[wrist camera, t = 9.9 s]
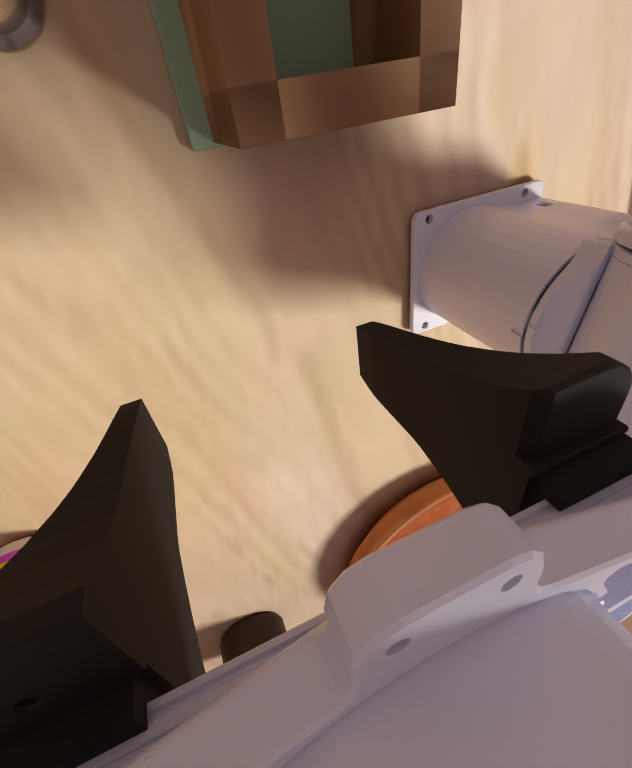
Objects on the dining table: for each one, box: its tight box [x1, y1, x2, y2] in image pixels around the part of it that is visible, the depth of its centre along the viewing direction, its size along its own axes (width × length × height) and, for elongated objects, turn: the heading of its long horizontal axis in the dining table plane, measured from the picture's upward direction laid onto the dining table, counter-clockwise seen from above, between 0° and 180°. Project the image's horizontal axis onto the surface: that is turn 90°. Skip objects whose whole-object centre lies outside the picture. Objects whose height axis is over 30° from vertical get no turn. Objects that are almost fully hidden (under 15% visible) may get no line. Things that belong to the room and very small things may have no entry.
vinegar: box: [220, 612, 286, 664], centre depth 33 cm, size 7×7×20 cm
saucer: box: [349, 478, 463, 567], centre depth 44 cm, size 23×23×4 cm
